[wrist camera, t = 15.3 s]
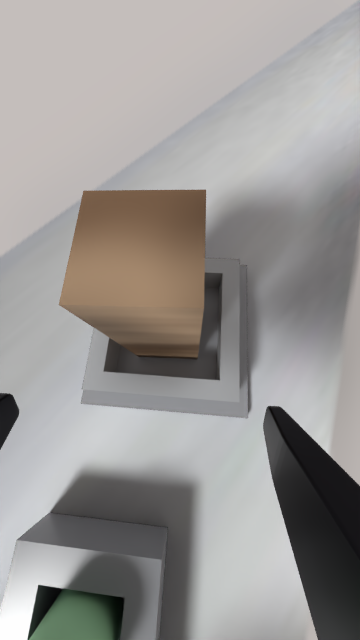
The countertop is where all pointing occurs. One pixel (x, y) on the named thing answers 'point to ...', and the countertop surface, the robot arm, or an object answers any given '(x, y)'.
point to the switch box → (86, 572)
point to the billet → (140, 269)
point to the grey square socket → (183, 374)
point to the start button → (82, 617)
